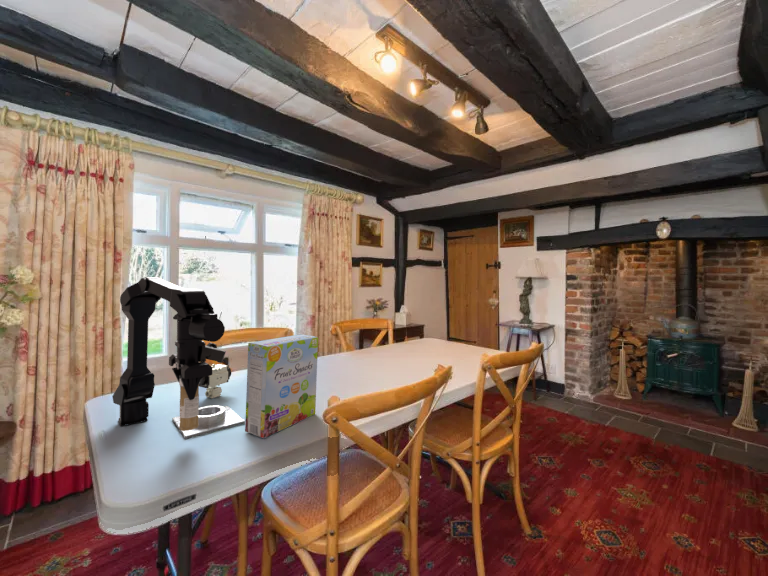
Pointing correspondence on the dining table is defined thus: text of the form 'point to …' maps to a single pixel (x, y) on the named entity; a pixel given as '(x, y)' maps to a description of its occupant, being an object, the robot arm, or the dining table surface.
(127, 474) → the dining table surface
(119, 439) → the dining table surface
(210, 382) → the pneumatic valve
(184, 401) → the sprinkles bottle
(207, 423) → the duct flange
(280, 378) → the snack box
